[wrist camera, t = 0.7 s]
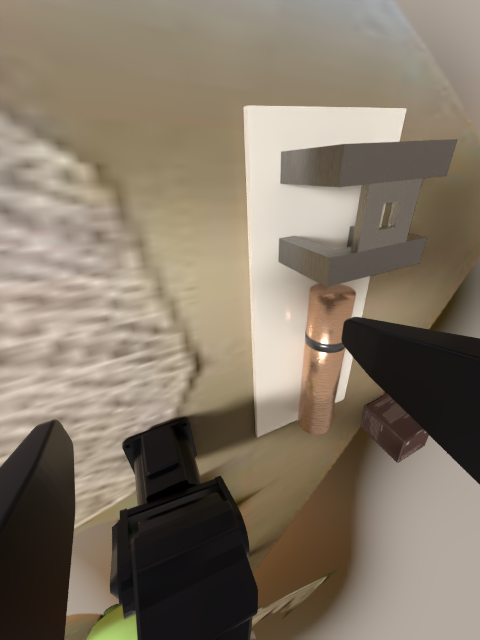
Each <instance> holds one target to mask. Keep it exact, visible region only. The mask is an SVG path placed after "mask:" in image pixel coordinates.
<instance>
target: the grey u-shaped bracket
mask: <svg viewBox="0 0 480 640" xmlns="http://www.w3.org/2000/svg"><path fill="white" fill-rule="evenodd" d="M457 140H458V139H455V140H430V141H405V142H380V143H355V144H340V145H331V146H323V147H315V148H307V149H298V150H290V151H282V152H281V173H280V184H295V185H310V186H326V187H347V186H357V185H362V186H361V192H360V198H359V204H358V210H357V216H356V222H355V225H354V226H350V230H349V236H348V242H347V248H342V249H337V250H335V249H332V248H329V247H326V246H323V245H320V244H317V243H314V242H311V241H308V240H306V239H303V238H300V237H297V236H290V237H284V238H279V260H278V262H279V263H281V264H283V265H285V266H287V267H289V268H291V269H293V270H295V271H296V272H298V273H300V274H302V275H304V276H306V277H308V278H310V279H312V280H314V281H316V282H317V283H319V284H321V285H323V286H325V287H330V286H333V285H337V284H341V283H345V282H349V281H353V280H357V279H361V278H364V277H368V276H372V275H376V274H380V273H384V272H388V271H392V270H395V269H399V268H403V267H407V266H411V265H415V264H419V263H420V260H421V256H422V253H423V250H424V247H425V243H426V240H427V237H424V236H419V235H414V234H409V233H408V232H409V229H410V225H411V221H412V218H413V214H414V210H415V206H416V203H417V199H418V195H419V192H420V188H421V184H422V180H423V178H431V177H441V176H446V175H447V172H448V169H449V166H450V162H451V159H452V156H453V153H454V149H455V146H456V143H457ZM386 203H392V208H391V212H390V216H389V221H388V225H387V226H383V227H379V225H380V221H381V216H382V211H383V206H384V204H386Z"/></svg>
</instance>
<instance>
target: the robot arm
mask: <svg viewBox="0 0 480 640" xmlns="http://www.w3.org/2000/svg"><path fill="white" fill-rule="evenodd" d="M341 341H342V344H343V346H344V347H345V348H346V349H347V350H348V352H349V353H350V354H351V355H352V356H353V357H354V359H355V360H356V361H357V362H358V363H359V365H360V366H361V367H362V368H363V369H364V370H365V372H366V373H367V374H368V375H369V376H370V377H371V378H372V379H373V380H374V381H375V382H376V383H377V384H378V385H379V386H380V387H381V388H382V389H383V390H384V391H385V392H386V393H387V394H388V395H389V396H390V397H391V398H392V399H393V400H394V401H395V402H396V403H397V404H398V405H399V406H400V407H401V408H402V409H403V410H404V411H405V412H406V413H407V414H408V415H409V416H410V417H411V418H412V419H413V420H414V421H415V422H416V423H417V424H418V425H419V426H420V427H421V428H423V429H424V430H425V431H426V432H427V433H428V434H429V435H430V436H431V437H432V438H433V439H434V440H435V441H436V442H437V443H438V444H439V445H440V446H441V447H442V448H443V449H444V450H445V451H446V452H447V453H448V454H449V455H450V456H451V457H452V458H453V459H454V460H455V461H456V462H457V463H458V464H459V465H460V466H461V467H462V468H463V469H464V470H465V471H466V472H467V473H469V475H471V477H472V478H474V479H475V480H476V481H477V482H478V483H479V484H480V339H479V338H473V337H468V336H462V335H457V334H451V333H445V332H439V331H434V330H429V329H423V328H417V327H412V326H406V325H400V324H395V323H389V322H384V321H378V320H372V319H367V318H361V317H352V318H349V319H346V320H345V321H344V323H343V330H342V337H341ZM128 444H129V445H128ZM122 447H123V450H124V452H125V455H126V457H127V459H128V461H129V463H130V465H131V467H132V469H133V472H134V474H135V480H136V491H137V503H138V506H136V507H133V508H130V509H124V510H121V511H120V520H118V522H117V523H116V524H115V525H114V526H113V527H112V562H111V576H110V593H111V594H112V595H114V596H115V597H116V598H118V599H119V604H120V606H122V607H123V616H124V620H125V619H127V618H129V617H131V616H133V615H135V614H136V625H137V639H138V640H250V636H251V626H252V617H253V616H255V615H256V614H257V609H258V589H257V585H256V582H255V579H254V576H253V574H252V571H251V568H250V565H249V562H248V558H247V557H248V556H249V541H248V535H247V531H246V527H245V524H244V520H243V518H242V515H241V513H240V511H239V509H238V507H237V505H236V503H235V501H234V499H233V497H232V496H231V494H230V492H229V490H228V488H227V486H226V485H225V483H224V481H223V479H222V477H221V476H218V477H215V479H213V480H210V481H207V482H204V483H202V480H201V477H200V474H199V471H198V467H197V464H196V461H195V457H196V456H197V454H196V450H195V445H194V441H193V437H192V433H191V428H190V424H189V421H188V419H187V418H183V419H180V420H178V421H175V422H172V423H170V424H167V425H164V426H162V427H159V428H156V429H154V430H151V431H148V432H146V433H143V434H140V435H138V436H135V437H132V438H130V439H127V440H125V441H124V442H123V443H122ZM74 521H75V481H74V451H73V443H72V441H71V439H70V437H69V435H68V434H67V432H66V431H65V429H64V428H63V426H62V424H61V423H60V422H59V421H58V420H51V421H48V422H45V423H42V424H39V425H37V426H36V427H35V428H34V429H33V430H32V431H31V432H30V434H29V435H28V436H27V437H26V438H25V439H24V440H23V442H22V443H21V444H20V445H19V446H18V447H17V449H16V450H15V451H14V452H13V453H12V454H11V455H10V457H9V458H8V459H7V460H6V461H5V462H4V463H3V465H2V466H1V467H0V640H64V635H65V624H66V611H67V601H68V589H69V578H70V567H71V555H72V543H73V532H74Z"/></svg>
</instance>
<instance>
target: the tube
mask: <svg viewBox="0 0 480 640" xmlns="http://www.w3.org/2000/svg"><path fill="white" fill-rule="evenodd" d="M355 296H356V292H355V290H354V289H352V288H351V287H349V286H346V285H343V284H337V285H333V286H330V287H325V286H323V285H321V284H316V285H314V286H312V287H311V288H310V293H309V303H308V314H307V325H306V331H305V346H304V357H303V367H302V378H301V389H300V399H299V410H298V423H299V425H300V427H301V428H302V429H303V430H304V431H305V432H307V433H309V434H313V435H322V434H324V433H326V432H327V431H328V430H329V428H330V425H331V419H332V414H333V409H334V404H335V399H336V394H337V389H338V384H339V378H340V373H341V368H342V363H343V358H344V353H345V347H344V346H343V344H342V341H341V337H342V330H343V323H344V321H345V320H346V319H349V318H351V317H352V312H353V307H354V302H355Z"/></svg>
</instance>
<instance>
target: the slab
mask: <svg viewBox="0 0 480 640" xmlns="http://www.w3.org/2000/svg"><path fill="white" fill-rule="evenodd" d="M405 113H406V108H354V107H298V106H246V107H244V134H245V162H246V190H247V217H248V245H249V273H250V300H251V328H252V356H253V383H254V411H255V434H256V436H257V437H259V436H262V435H264V434H266V433H268V432H271V431H273V430H275V429H278V428H280V427H282V426H284V425H287V424H289V423H291V422H293V421H296V420H298V410H299V399H300V389H301V378H302V367H303V357H304V346H305V331H306V325H307V314H308V303H309V293H310V288H311V287H312V286H314V285H316V284H319V283H317V282H316V281H314V280H312V279H310V278H308V277H306V276H304V275H302V274H300V273H298V272H296V271H295V270H293V269H291V268H289V267H287V266H285V265H283V264H281V263H279V262H278V260H279V238H284V237H290V236H297V237H300V238H303V239H306V240H308V241H311V242H314V243H317V244H320V245H323V246H326V247H329V248H332V249H335V250H337V249H342V248H347V242H348V236H349V230H350V226H354V225H355V222H356V216H357V210H358V204H359V198H360V192H361V186H362V185H357V186H347V187H326V186H310V185H295V184H280V173H281V152H282V151H290V150H298V149H307V148H315V147H323V146H331V145H340V144H355V143H380V142H399V141H400V136H401V132H402V127H403V122H404V118H405ZM385 206H386V204H384V206H383V211H382V216H381V221H380V225H379V227H381V224H382V220H383V215H384V211H385ZM369 280H370V276H368V277H364V278H361V279H357V280H353V281H349V282H345V283H341V284H343V285H346V286H349V287H351V288H352V289H354V290H355V292H356V296H355V302H354V307H353V312H352V317H362V313H363V308H364V304H365V299H366V294H367V290H368V285H369ZM352 317H351V318H352ZM352 359H353V356H352V355H351V354H350V353H349V352H348V350H347V349H346V348H345V353H344V358H343V363H342V368H341V373H340V378H339V384H338V389H337V394H336V399H335V403H336V402H339V401H341V400H343V399H344V396H345V392H346V387H347V383H348V378H349V373H350V369H351V364H352Z"/></svg>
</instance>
